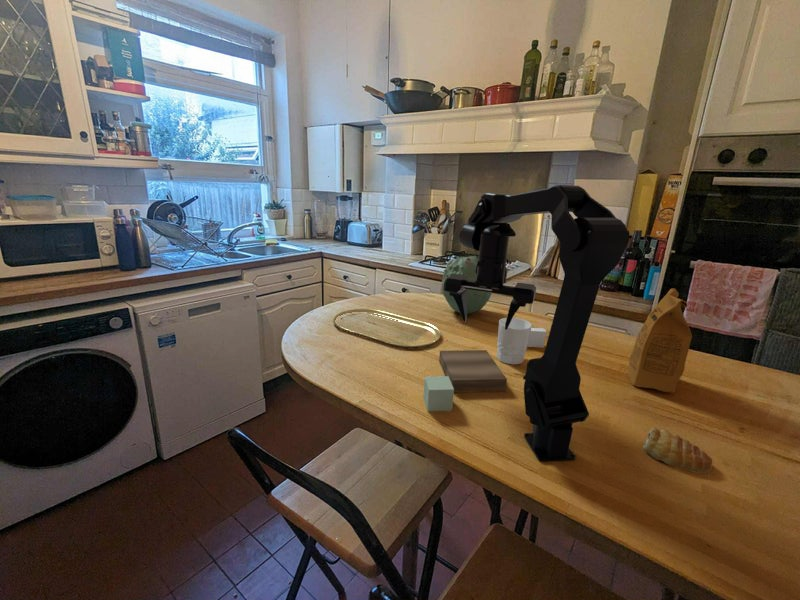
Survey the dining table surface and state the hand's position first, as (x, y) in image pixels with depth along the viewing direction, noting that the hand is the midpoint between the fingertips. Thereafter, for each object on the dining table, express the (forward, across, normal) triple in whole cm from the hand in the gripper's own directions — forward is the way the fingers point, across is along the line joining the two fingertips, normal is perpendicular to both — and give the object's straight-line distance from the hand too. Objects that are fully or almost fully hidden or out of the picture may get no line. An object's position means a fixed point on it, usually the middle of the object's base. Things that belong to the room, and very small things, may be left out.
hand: (485, 325), depth 82 cm
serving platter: (+13, +32, -16) cm, 38 cm away
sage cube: (+14, +6, +14) cm, 20 cm away
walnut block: (+13, +2, -1) cm, 14 cm away
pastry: (+14, -36, +9) cm, 40 cm away
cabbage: (+13, +15, -42) cm, 46 cm away
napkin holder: (+14, -7, -25) cm, 29 cm away
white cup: (+14, -5, -14) cm, 20 cm away
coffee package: (+14, -37, -19) cm, 44 cm away
